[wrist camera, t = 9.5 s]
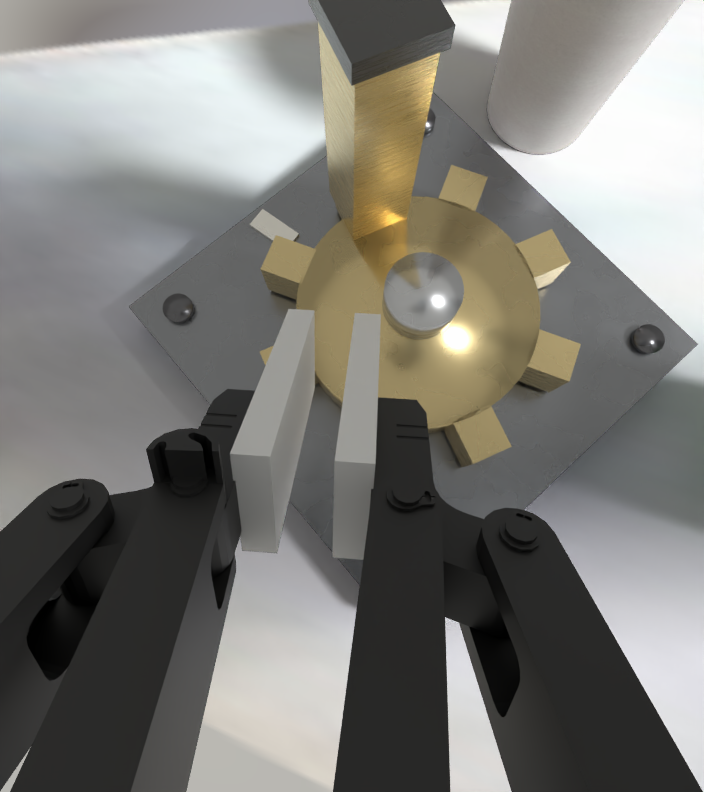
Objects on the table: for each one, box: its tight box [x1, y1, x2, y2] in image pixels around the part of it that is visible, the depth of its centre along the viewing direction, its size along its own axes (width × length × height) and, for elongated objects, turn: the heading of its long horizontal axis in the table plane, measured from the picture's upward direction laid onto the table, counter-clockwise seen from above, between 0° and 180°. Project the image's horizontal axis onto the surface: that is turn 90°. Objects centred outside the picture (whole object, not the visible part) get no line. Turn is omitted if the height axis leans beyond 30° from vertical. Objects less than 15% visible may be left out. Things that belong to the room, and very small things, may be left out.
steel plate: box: [129, 91, 698, 585], centre depth 26 cm, size 22×22×7 cm
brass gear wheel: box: [260, 0, 581, 467], centre depth 21 cm, size 16×16×13 cm
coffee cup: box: [487, 0, 685, 154], centre depth 26 cm, size 10×10×15 cm
